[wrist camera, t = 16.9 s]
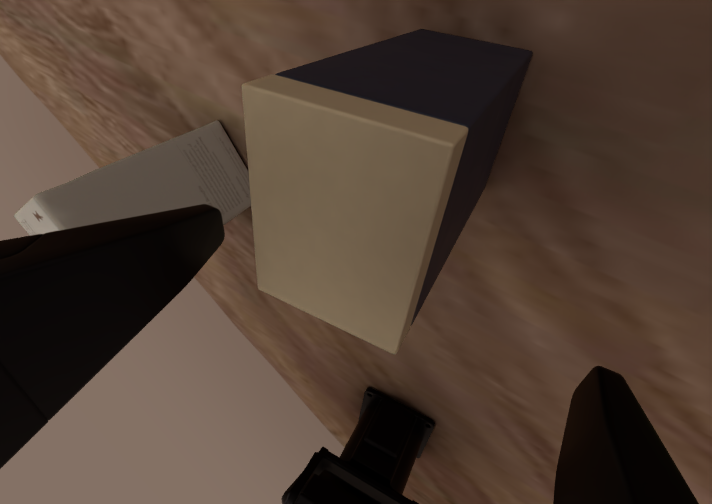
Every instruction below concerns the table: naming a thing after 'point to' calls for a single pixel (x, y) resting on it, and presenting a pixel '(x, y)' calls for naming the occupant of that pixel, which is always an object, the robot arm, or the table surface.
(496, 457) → the table surface
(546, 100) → the table surface
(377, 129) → the carton
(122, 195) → the cosmetic box
